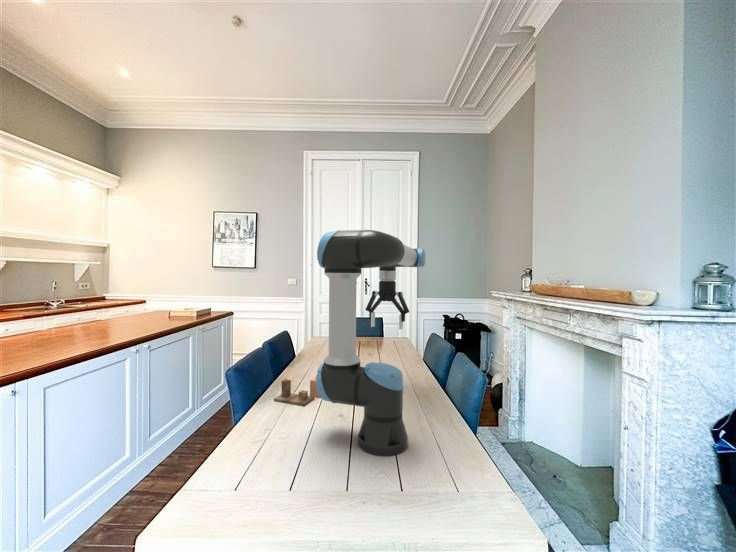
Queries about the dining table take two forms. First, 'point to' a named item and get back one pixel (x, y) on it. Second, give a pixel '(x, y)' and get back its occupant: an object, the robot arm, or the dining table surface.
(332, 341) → the robot arm
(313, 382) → the tan upright block
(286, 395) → the peg stand
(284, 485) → the dining table surface
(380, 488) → the dining table surface
